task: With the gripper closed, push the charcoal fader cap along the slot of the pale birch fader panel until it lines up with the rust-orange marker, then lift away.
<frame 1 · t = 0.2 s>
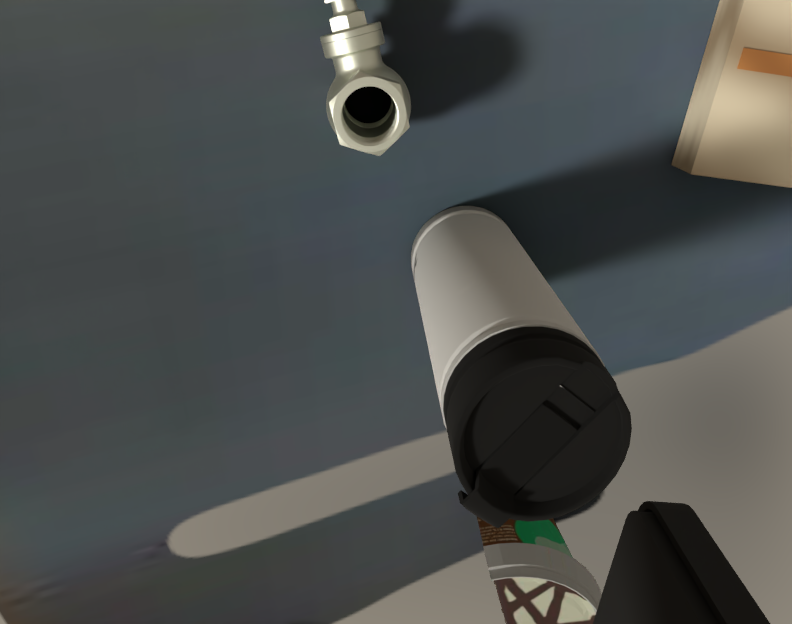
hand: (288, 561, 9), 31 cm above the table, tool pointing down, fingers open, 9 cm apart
travel mug: (460, 257, 41), on the table
valve: (349, 22, 35), on the table
food container: (523, 519, 49), on the table
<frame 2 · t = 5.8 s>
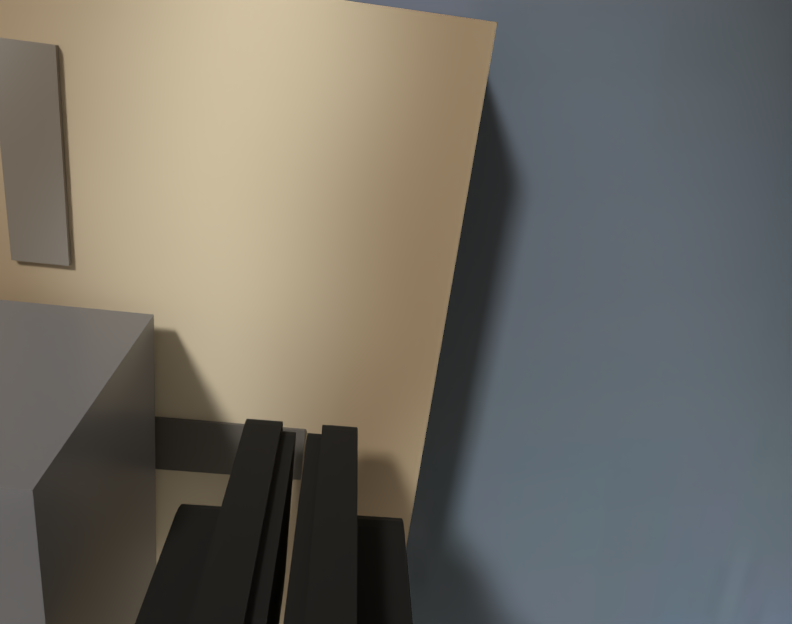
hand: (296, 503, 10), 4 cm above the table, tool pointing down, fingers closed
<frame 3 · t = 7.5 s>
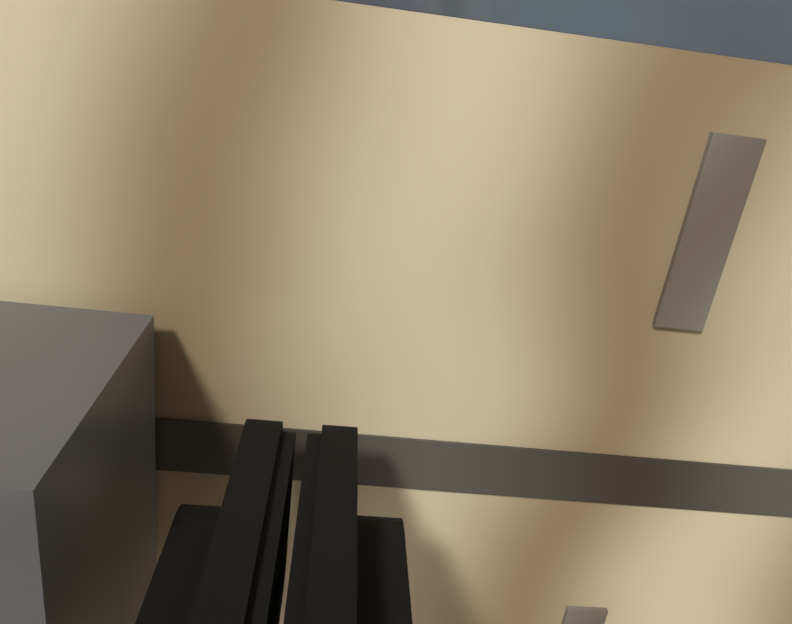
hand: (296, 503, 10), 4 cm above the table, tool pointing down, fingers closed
fader panel: (247, 375, 14), on the table
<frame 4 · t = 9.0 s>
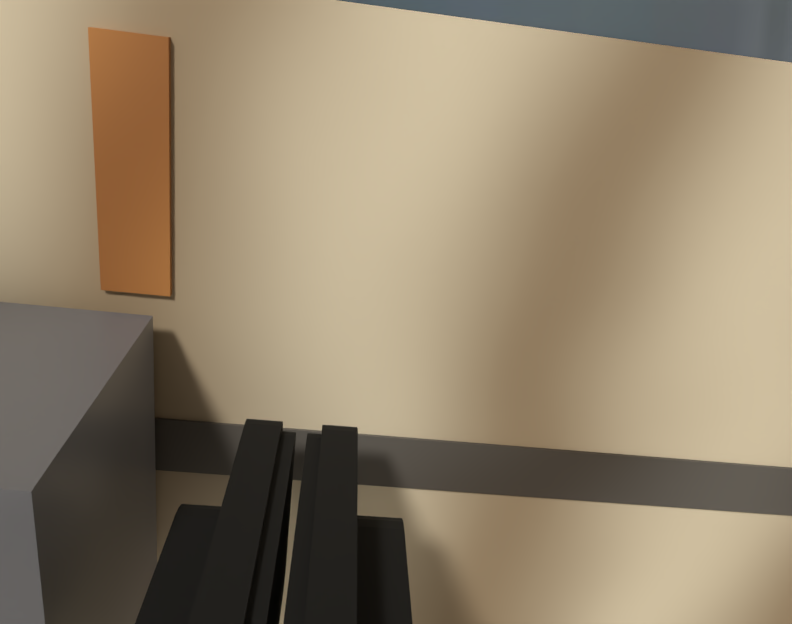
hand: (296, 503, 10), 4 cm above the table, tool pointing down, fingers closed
fader panel: (522, 399, 14), on the table
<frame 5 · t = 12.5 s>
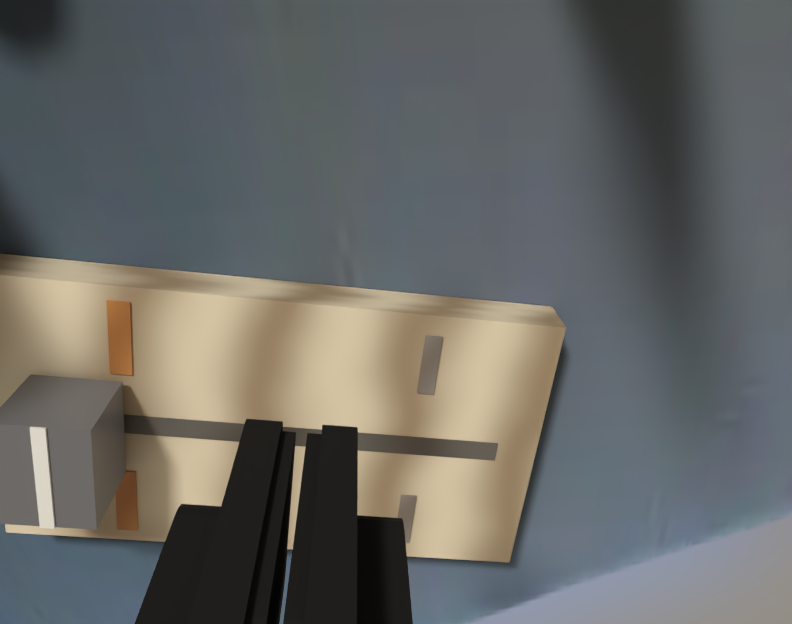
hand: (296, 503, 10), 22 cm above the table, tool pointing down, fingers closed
fader panel: (278, 407, 35), on the table
fader cap: (62, 450, 30), point 5 cm above the table, slide at 15.8 cm
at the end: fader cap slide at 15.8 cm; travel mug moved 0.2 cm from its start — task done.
